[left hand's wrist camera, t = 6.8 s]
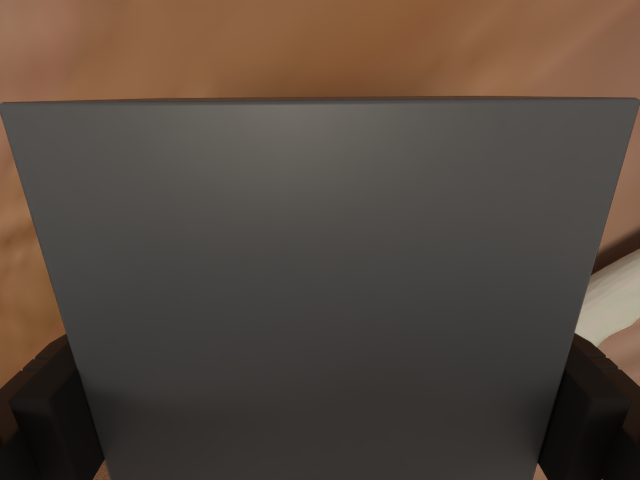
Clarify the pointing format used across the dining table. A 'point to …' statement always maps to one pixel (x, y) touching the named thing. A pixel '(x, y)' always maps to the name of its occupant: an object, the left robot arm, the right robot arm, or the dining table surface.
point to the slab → (320, 275)
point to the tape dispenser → (611, 299)
